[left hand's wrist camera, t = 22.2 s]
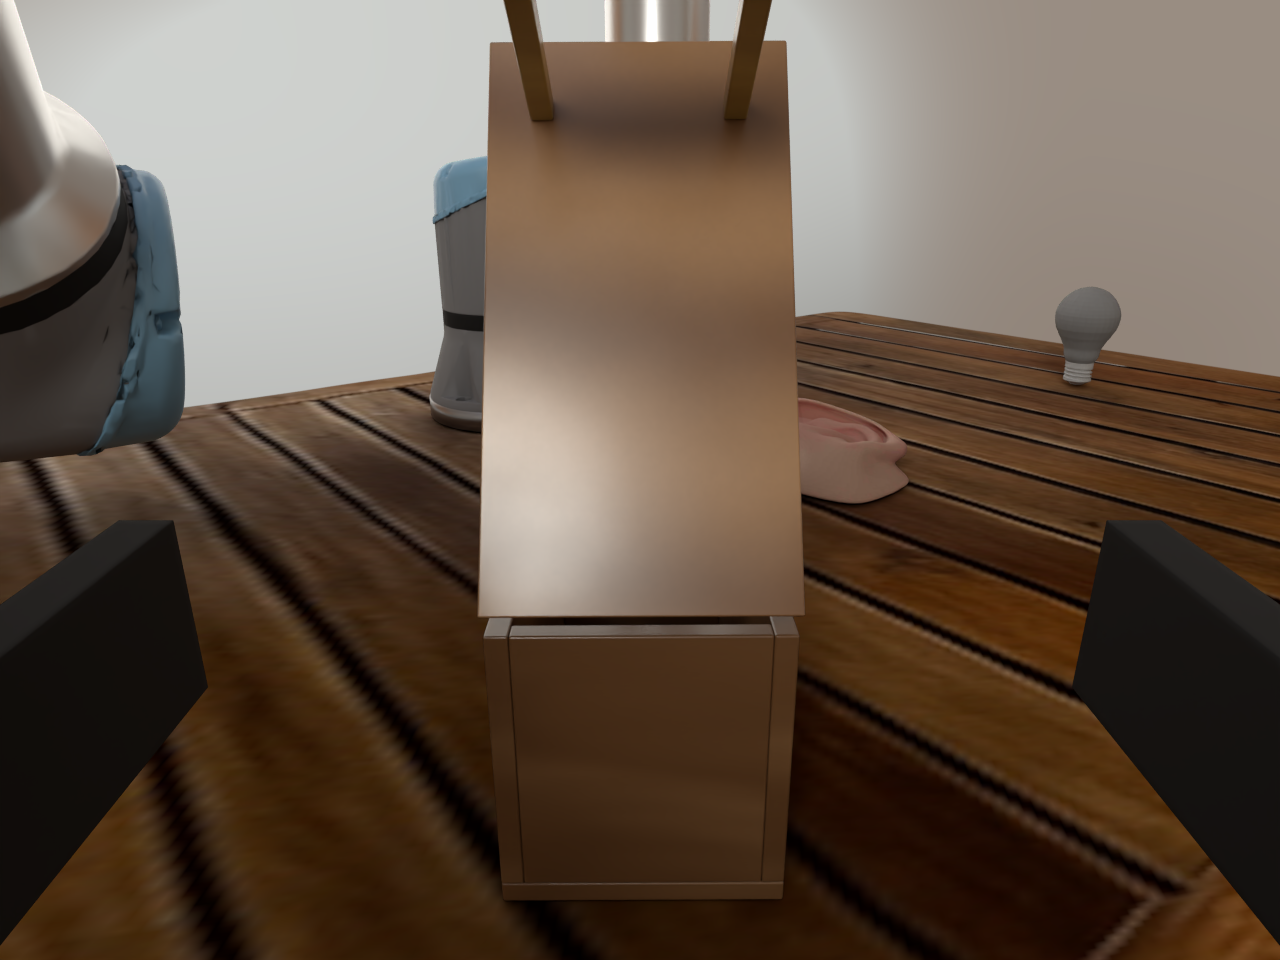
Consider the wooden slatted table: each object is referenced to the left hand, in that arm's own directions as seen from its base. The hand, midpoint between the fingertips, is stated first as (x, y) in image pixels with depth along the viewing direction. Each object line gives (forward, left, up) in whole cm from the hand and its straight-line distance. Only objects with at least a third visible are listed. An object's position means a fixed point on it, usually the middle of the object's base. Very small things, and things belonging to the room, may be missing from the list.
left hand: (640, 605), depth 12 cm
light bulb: (-31, +85, -16) cm, 92 cm away
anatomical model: (-30, +44, -16) cm, 56 cm away
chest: (-15, +12, -16) cm, 25 cm away
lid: (-12, +10, +1) cm, 15 cm away
